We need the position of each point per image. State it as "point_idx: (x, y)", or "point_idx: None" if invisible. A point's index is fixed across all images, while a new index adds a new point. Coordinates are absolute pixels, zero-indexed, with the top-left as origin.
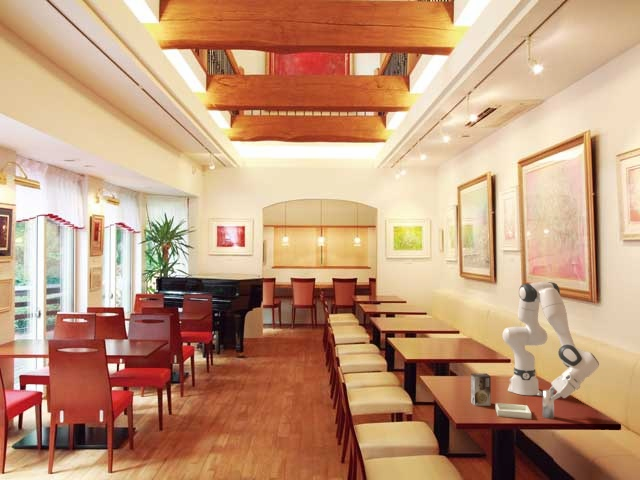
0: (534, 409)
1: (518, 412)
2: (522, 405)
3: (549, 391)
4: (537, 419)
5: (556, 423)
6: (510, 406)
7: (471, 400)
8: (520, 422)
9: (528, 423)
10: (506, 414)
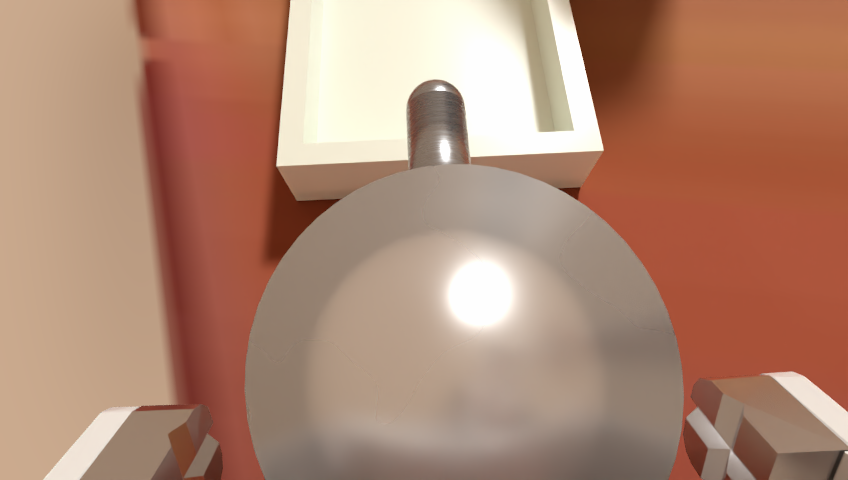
0: (693, 271)
1: (286, 52)
2: (569, 101)
3: (446, 395)
4: None
5: None
6: (541, 16)
7: None
8: (171, 101)
9: (149, 163)
10: None
